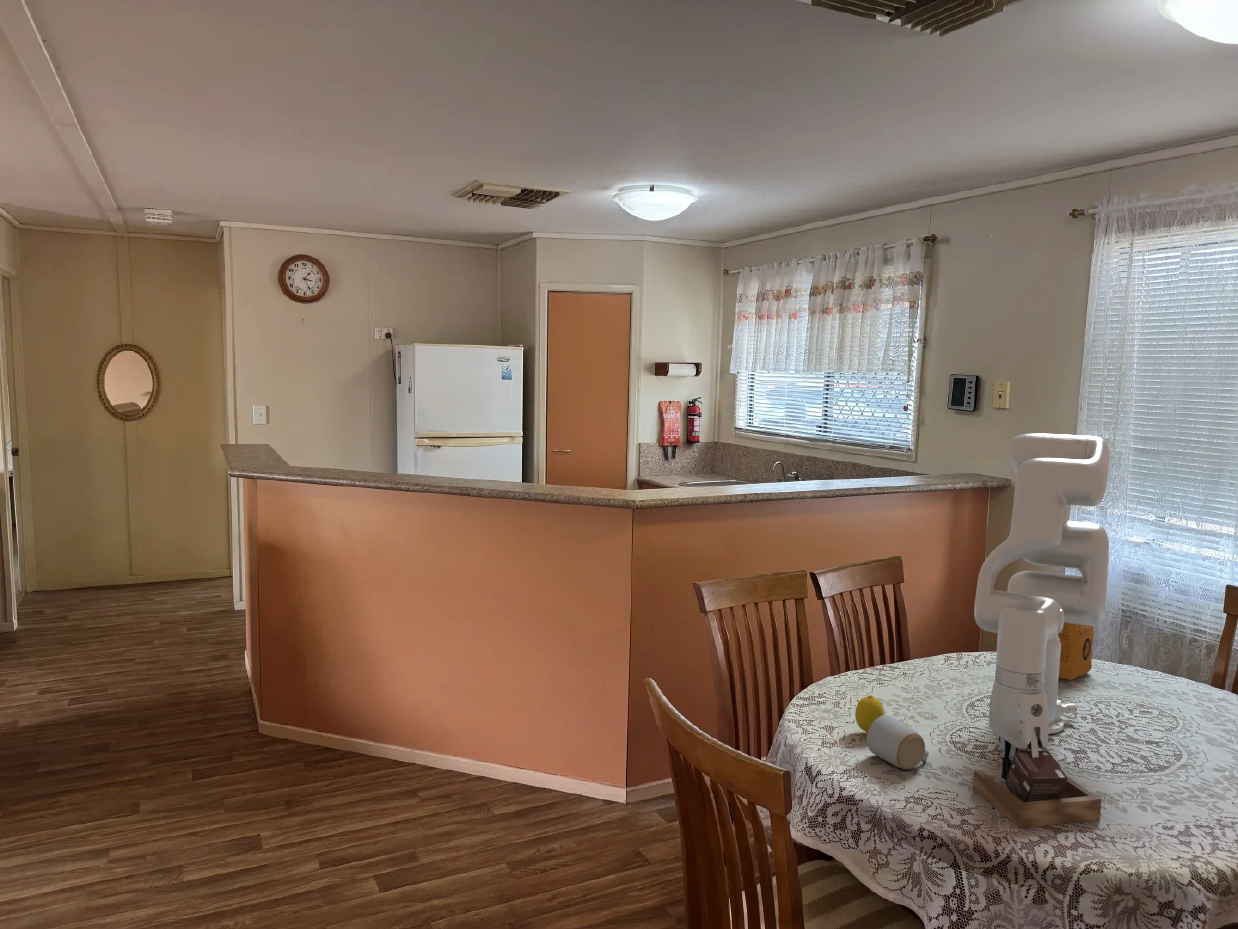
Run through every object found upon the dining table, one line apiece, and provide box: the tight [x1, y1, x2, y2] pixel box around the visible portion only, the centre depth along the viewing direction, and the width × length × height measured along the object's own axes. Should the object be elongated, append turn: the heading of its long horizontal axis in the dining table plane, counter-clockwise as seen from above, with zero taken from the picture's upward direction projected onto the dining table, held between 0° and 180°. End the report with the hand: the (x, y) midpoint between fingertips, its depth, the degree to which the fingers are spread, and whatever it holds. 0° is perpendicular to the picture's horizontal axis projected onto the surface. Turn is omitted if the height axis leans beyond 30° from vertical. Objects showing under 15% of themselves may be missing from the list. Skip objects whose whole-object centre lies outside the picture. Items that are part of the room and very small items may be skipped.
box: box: [1004, 750, 1068, 802], centre depth 138 cm, size 6×6×7 cm
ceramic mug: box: [866, 714, 930, 770], centre depth 154 cm, size 11×8×8 cm
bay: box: [972, 769, 1102, 829], centre depth 138 cm, size 14×12×4 cm
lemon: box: [854, 694, 885, 735], centre depth 165 cm, size 6×6×8 cm
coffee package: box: [1058, 623, 1095, 681], centre depth 200 cm, size 10×12×22 cm
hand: (1012, 780), depth 143 cm, fingers closed
